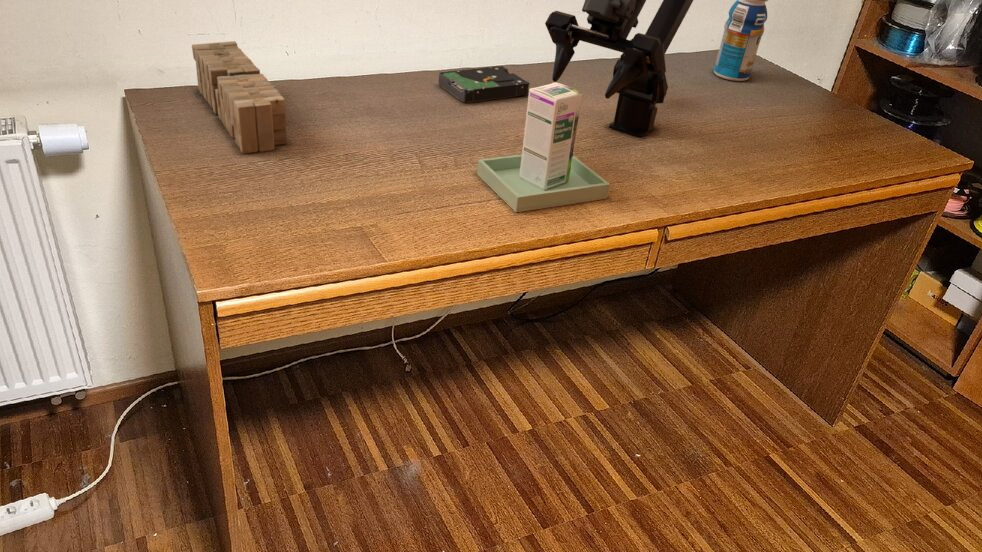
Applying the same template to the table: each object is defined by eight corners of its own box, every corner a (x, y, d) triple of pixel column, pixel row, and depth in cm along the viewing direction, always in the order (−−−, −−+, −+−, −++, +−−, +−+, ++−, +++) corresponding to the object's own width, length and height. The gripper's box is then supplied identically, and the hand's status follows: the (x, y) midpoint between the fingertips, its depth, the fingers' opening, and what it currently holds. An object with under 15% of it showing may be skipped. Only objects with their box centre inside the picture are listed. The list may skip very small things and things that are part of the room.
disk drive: (499, 79, 164) (437, 85, 157) (501, 65, 162) (438, 71, 155) (528, 96, 157) (464, 104, 150) (530, 82, 156) (465, 89, 148)
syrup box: (544, 191, 123) (558, 99, 114) (517, 177, 126) (529, 86, 117) (569, 182, 126) (584, 92, 117) (541, 168, 129) (555, 79, 121)
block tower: (290, 153, 128) (240, 84, 147) (288, 102, 123) (236, 37, 142) (240, 159, 124) (196, 87, 143) (236, 107, 119) (190, 40, 138)
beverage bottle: (707, 68, 183) (731, -25, 171) (742, 70, 184) (769, -22, 172) (718, 80, 177) (744, -16, 165) (754, 83, 177) (783, -12, 166)
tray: (515, 212, 117) (517, 197, 116) (476, 174, 126) (478, 159, 125) (607, 198, 124) (610, 184, 122) (563, 163, 133) (566, 149, 132)
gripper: (560, -46, 120) (513, 43, 119) (674, -19, 113) (625, 76, 112) (576, 0, 130) (533, 83, 129) (682, 28, 123) (637, 116, 122)
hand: (579, 88), depth 123 cm, fingers open, 9 cm apart
